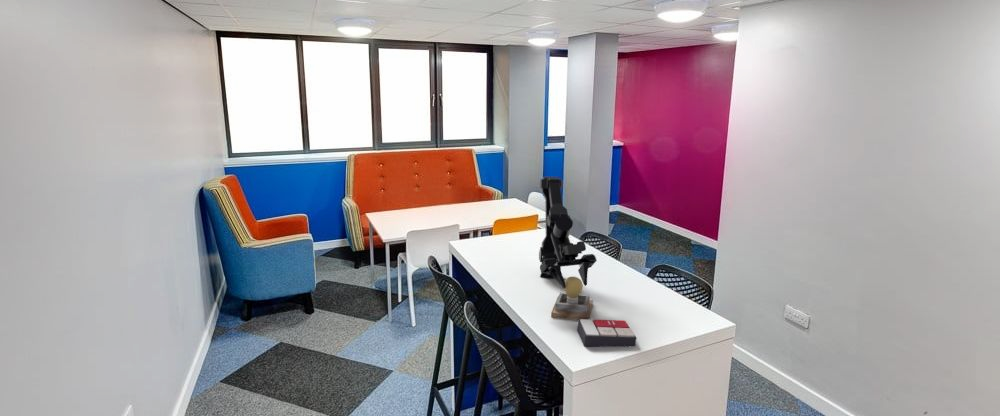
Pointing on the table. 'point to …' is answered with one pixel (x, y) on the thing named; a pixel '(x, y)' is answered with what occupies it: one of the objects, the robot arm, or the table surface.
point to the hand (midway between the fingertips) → (575, 286)
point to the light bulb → (573, 289)
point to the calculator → (605, 333)
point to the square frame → (572, 307)
